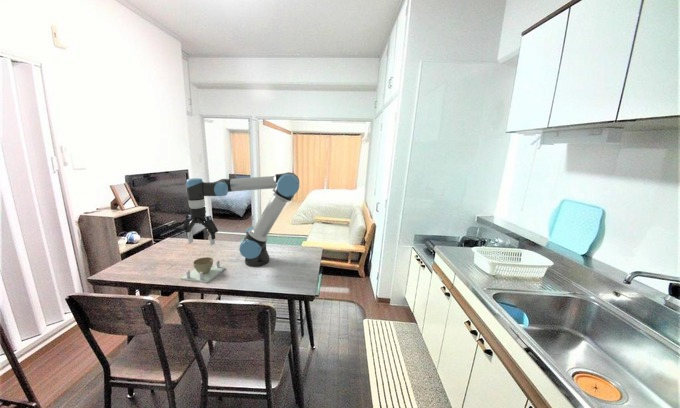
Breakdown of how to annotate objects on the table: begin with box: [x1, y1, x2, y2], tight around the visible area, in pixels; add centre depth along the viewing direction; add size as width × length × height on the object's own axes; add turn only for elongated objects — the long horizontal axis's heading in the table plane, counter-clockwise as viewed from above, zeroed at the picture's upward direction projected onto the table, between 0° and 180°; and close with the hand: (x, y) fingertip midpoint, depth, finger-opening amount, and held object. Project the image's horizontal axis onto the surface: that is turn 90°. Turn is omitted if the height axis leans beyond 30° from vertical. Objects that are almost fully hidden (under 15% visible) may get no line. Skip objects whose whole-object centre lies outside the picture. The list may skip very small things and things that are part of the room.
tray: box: [180, 260, 226, 284], centre depth 137 cm, size 16×16×5 cm
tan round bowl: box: [192, 256, 214, 274], centre depth 136 cm, size 10×10×7 cm
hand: (201, 243), depth 133 cm, fingers open, 13 cm apart
